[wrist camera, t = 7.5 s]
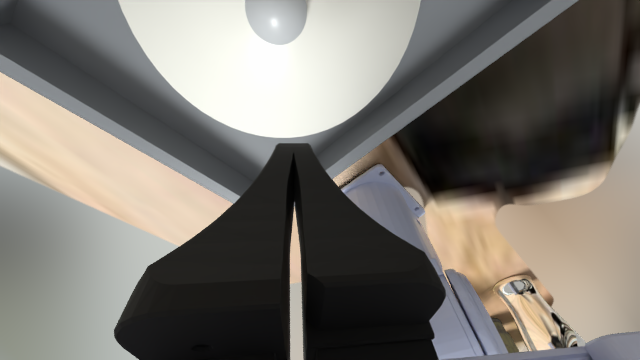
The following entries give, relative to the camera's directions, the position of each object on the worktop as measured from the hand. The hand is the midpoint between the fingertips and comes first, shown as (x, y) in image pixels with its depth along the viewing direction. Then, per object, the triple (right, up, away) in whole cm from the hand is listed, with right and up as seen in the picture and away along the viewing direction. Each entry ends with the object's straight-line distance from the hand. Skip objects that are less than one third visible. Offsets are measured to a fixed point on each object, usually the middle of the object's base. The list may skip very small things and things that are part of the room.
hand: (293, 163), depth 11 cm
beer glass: (+34, -18, +32) cm, 50 cm away
